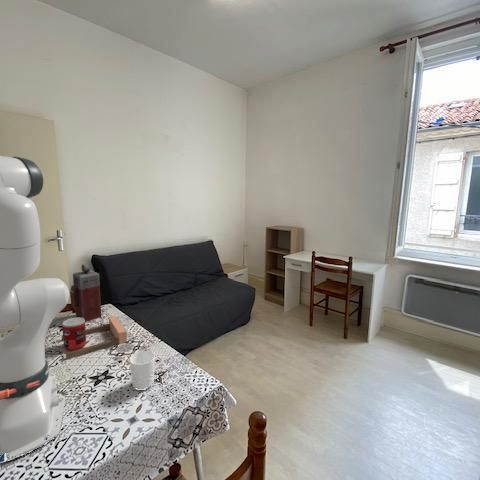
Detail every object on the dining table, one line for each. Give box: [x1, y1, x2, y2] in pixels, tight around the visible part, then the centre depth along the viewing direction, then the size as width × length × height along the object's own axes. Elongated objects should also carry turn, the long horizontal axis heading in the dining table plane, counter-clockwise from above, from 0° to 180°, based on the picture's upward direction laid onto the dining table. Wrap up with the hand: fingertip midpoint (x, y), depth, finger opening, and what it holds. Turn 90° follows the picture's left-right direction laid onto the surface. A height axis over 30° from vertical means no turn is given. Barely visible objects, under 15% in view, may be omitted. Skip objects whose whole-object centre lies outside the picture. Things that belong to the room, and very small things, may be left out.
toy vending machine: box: [69, 263, 103, 323], centre depth 135 cm, size 9×11×28 cm
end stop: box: [108, 315, 128, 345], centre depth 122 cm, size 18×3×5 cm, turn 38°
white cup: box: [129, 350, 156, 389], centre depth 90 cm, size 8×8×10 cm
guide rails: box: [61, 323, 120, 360], centre depth 115 cm, size 18×19×2 cm
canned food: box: [61, 316, 87, 352], centre depth 111 cm, size 8×8×11 cm
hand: (0, 304), depth 95 cm, fingers closed
